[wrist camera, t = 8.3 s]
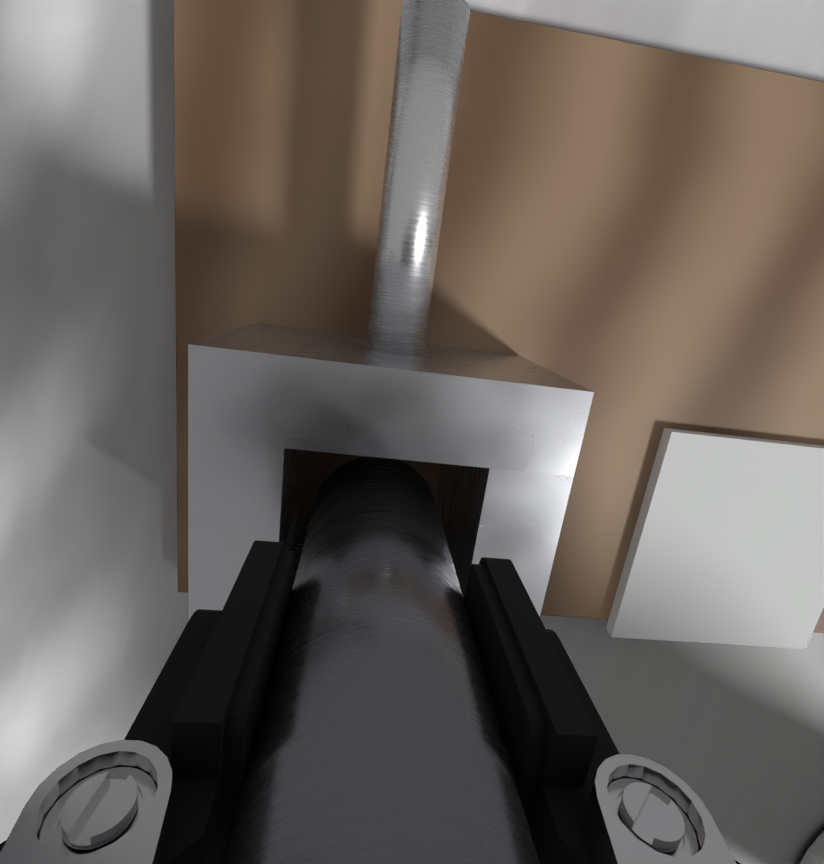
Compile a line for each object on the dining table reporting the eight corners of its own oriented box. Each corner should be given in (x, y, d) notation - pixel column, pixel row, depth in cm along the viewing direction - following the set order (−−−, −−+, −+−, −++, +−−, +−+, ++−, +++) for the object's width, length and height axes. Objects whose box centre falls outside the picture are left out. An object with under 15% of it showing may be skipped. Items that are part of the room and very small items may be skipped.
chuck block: (570, 91, 15) (696, -32, 9) (476, 578, 19) (519, 702, 14) (265, 34, 14) (187, -146, 8) (246, 562, 18) (188, 688, 13)
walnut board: (1010, 139, 17) (1055, 129, 16) (807, 615, 23) (830, 633, 22) (189, -23, 14) (172, -50, 13) (189, 574, 20) (178, 591, 19)
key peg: (444, 462, 13) (894, 1589, 2) (426, 569, 14) (649, 1745, 3) (319, 449, 13) (-105, 1771, 1) (310, 561, 14) (15, 1882, 2)
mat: (876, 451, 19) (889, 455, 19) (796, 640, 22) (805, 648, 21) (664, 427, 18) (671, 432, 18) (605, 629, 21) (611, 637, 20)
